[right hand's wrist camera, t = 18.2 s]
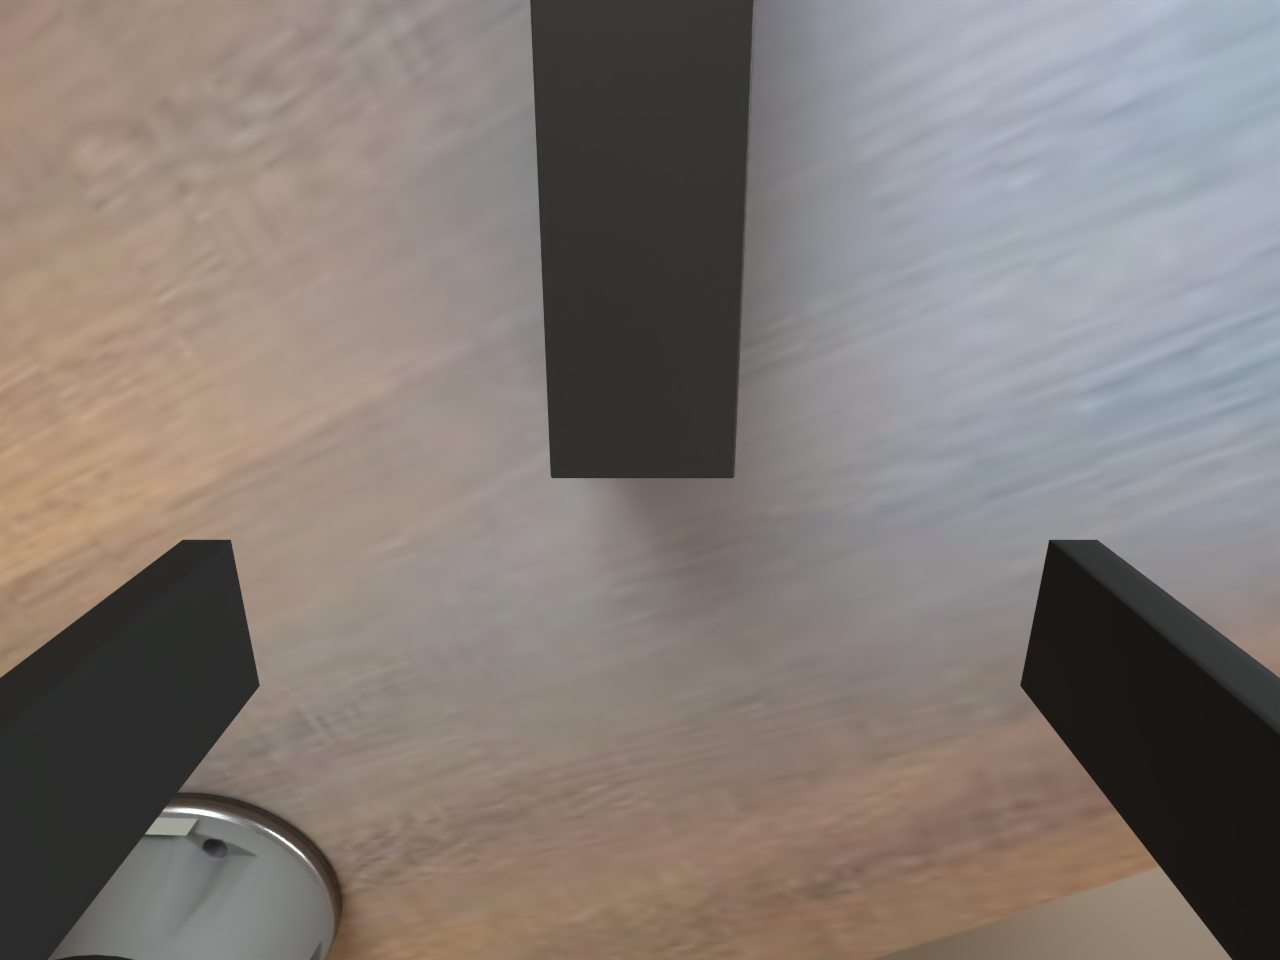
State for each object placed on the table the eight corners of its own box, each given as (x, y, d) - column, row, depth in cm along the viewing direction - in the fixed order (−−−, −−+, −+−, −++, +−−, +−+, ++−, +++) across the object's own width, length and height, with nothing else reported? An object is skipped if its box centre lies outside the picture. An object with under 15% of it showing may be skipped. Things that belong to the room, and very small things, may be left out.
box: (712, 408, 36) (734, 478, 27) (573, 409, 36) (550, 478, 27) (736, -343, 27) (782, -605, 18) (549, -343, 27) (504, -603, 18)
